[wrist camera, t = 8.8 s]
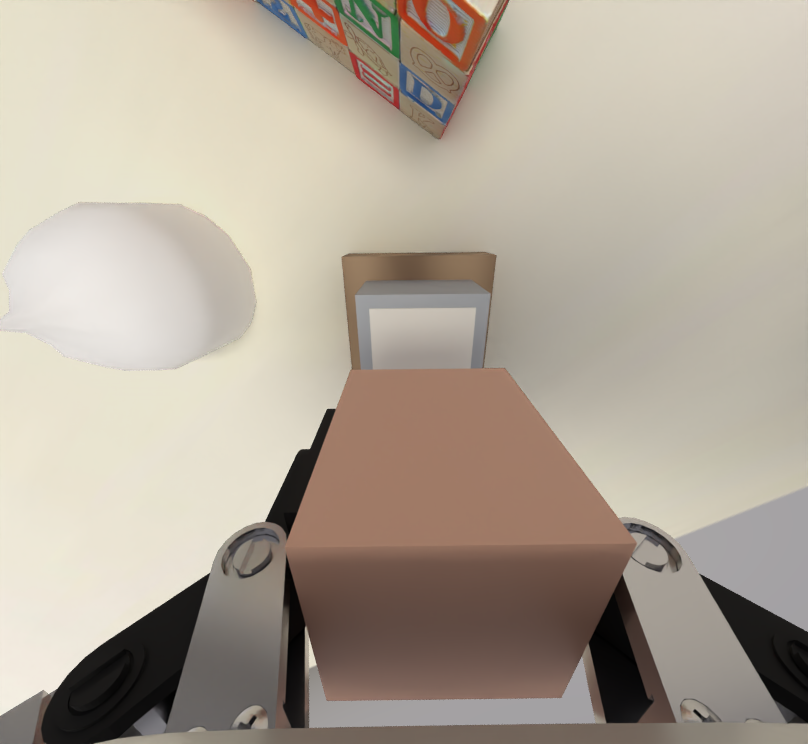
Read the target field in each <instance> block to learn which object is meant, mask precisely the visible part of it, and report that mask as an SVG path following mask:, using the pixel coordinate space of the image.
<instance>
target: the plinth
mask: <svg viewBox="0 0 808 744" xmlns="http://www.w3.org/2000/svg"><path fill="white" fill-rule="evenodd" d="M495 262H496V255H494V254H490V253H486V252H462V253H374V254H348V255H345V256H343V257H342V266H343V277H344V288H345V298H346V309H347V320H348V330H349V341H350V352H351V362H352V370H361V364H360V352H359V339H358V327H357V314H356V302H355V294H356V293H357V292H358V291H359V289H360V288H361V287H362V285H363V284H364V283H365V282H366V281H381V280H472V281H474V282H475V283H477V284H478V285H479V286H481V287H482V288H483V289H485V290H486V291H488V292H489V293H490V294H491V295H490V304H489V313H488V322H487V331H486V340H485V349H484V358H483V367H482V368H484V359H485V350H486V342H487V333H488V324H489V315H490V306H491V298H492V289H493V280H494V271H495Z"/></svg>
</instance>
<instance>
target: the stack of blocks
mask: <svg viewBox="0 0 808 744" xmlns="http://www.w3.org/2000/svg"><path fill="white" fill-rule="evenodd" d="M253 1H255V2H259V3H260V4H262V5H263V6H264V7H265V8H267V9H268V10H269V11H271V12H272V13H273V14H275V15H276V16H277V17H279V18H280V19H281V20H283V21H284V22H285V23H287V24H288V25H289V26H291V27H292V28H293V29H295V30H296V31H297V32H298V33H300V34H301V35H302V36H304V37H305V38H307V39H310V40H311V41H312V42H313V43H314V44H315V45H317V46H318V47H319V48H321V49H322V50H323V51H325V52H326V53H327V54H329V55H330V56H331V57H333V58H334V59H335V60H337V61H338V62H339V63H341V64H342V65H343V66H345V67H346V68H347V69H349V70H350V71H351V72H353V73H355V75H356V76H357V78H358V79H360V80H361V81H362V82H364V83H365V84H366V85H367V86H369V87H370V88H371V89H373V90H374V91H376V92H377V93H378V94H379V95H381V96H382V97H383V98H385V99H386V100H387V101H389V102H390V103H391V104H393V105H394V106H395V107H397V108H398V109H399V110H401V111H402V112H403V113H404V114H405V115H406V116H408V117H409V118H410V119H412V120H413V121H414V122H416V123H417V124H418V125H419V126H421V127H422V128H423V129H425V130H426V131H427V132H429V133H430V134H431V135H433V136H434V137H435V138H437V139H441V137H442V135H443V133H444V131H445V129H446V127H447V125H448V123H449V121H450V119H451V117H452V115H453V113H454V111H455V109H456V107H457V105H458V103H459V101H460V99H461V97H462V95H463V94H464V92H465V90H466V87H467V85H468V83H469V81H470V79H471V77H472V74H473V72H474V70H475V68H476V66H477V64H478V63H479V61H480V59H481V57H482V55H483V53H484V51H485V49H486V47H487V45H488V43H489V41H490V39H491V37H492V35H493V34H494V32H495V30H496V28H497V26H498V24H499V22H500V20H501V18H502V15H503V13H504V11H505V9H506V7H507V5H508V2H509V0H253Z"/></svg>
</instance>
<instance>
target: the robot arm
mask: <svg viewBox="0 0 808 744" xmlns="http://www.w3.org/2000/svg"><path fill="white" fill-rule="evenodd" d="M335 411H336V409H327V410H326V413H325V415H324V417H323V420H322V422H321V424H320V427H319V429H318V432H317V434H316V436H315V439H314V441H313V443H312V446H311V448H310V449H301V450H300V451H299V452H298V453H297V455H296V457H295V459H294V461H293V464H292V466H291V468H290V470H289V472H288V474H287V476H286V478H285V481H284V483H283V485H282V487H281V489H280V491H279V493H278V495H277V498H276V500H275V502H274V504H273V506H272V508H271V510H270V512H269V514H268V517H267V519H266V521H265V522H260V523H255V524H252V525H249V526H246V527H244V528H243V529H241V530H239V531H238V532H236V533H234V534H233V535H232V536H231V537H230V538H229V539H228V540H226V541H225V543H224V544H223V545H222V547H221V548H220V549H219V550H218V552H217V555H216V557H215V559H214V561H213V565H212V568H211V572H210V573H209V574H207V575H206V576H204V577H203V578H201V579H200V580H198V581H197V582H195V583H194V584H192V585H191V586H189V587H188V588H186V589H185V590H183V591H182V592H180V593H179V594H177V595H176V596H174V597H173V598H171V599H170V600H168V601H167V602H165V603H164V604H162V605H161V606H159V607H158V608H156V609H155V610H153V611H152V612H150V613H149V614H147V615H146V616H144V617H143V618H141V619H140V620H138V621H137V622H135V623H134V624H132V625H131V626H129V627H128V628H126V629H125V630H123V631H121V632H120V633H118V634H117V635H115V636H114V637H112V638H111V639H109V640H108V641H106V642H105V643H103V644H102V645H101V646H99V647H98V648H97V649H95V650H94V651H93V652H91V653H90V654H89V655H88V656H86V657H85V658H84V659H83V660H82V661H81V662H80V663H79V664H78V665H77V666H76V667H75V668H74V669H73V670H72V671H71V672H70V673H69V674H68V675H67V677H66V678H65V679H64V681H63V682H62V683H61V685H60V686H59V687H58V689H56V690H55V691H53V692H52V693H50V694H48V693H47V692H45V691H44V690H43V691H41V692H39V693H38V694H36V695H34V696H33V697H31V698H29V699H28V700H26V701H24V702H23V703H21V704H19V705H18V706H16V707H14V708H13V709H11V710H9V711H8V712H6V713H4V714H3V715H1V716H0V744H808V632H807V631H804V630H803V629H801V628H799V627H797V626H795V625H794V624H792V623H790V622H788V621H786V620H784V619H782V618H781V617H779V616H777V615H775V614H773V613H771V612H770V611H768V610H766V609H764V608H762V607H760V606H758V605H756V604H755V603H753V602H751V601H749V600H747V599H745V598H744V597H742V596H740V595H738V594H736V593H734V592H732V591H730V590H729V589H727V588H725V587H723V586H721V585H719V584H718V583H716V582H714V581H712V580H710V579H708V578H706V577H705V576H703V575H701V574H699V573H698V571H697V570H696V568H695V566H694V564H693V563H692V561H691V559H690V558H689V556H688V555H687V553H686V552H685V550H684V549H683V548H682V547H681V545H680V544H679V543H678V542H677V541H676V540H674V539H673V538H672V537H671V536H670V535H669V534H667V533H666V532H664V531H663V530H661V529H660V528H658V527H656V526H654V525H652V524H650V523H648V522H646V521H642V520H639V519H636V518H628V517H622V518H619V520H620V521H621V522H622V524H623V525H624V526H625V528H626V529H627V530H628V532H629V533H630V534H631V536H632V537H633V538H634V539H635V541H636V542H637V545H636V547H635V549H634V551H633V553H632V556H631V558H630V560H629V562H628V564H627V566H626V568H625V570H624V572H623V574H622V576H621V578H620V580H619V582H618V584H617V586H616V588H615V590H614V592H613V594H612V596H611V598H610V600H609V602H608V604H607V606H606V608H605V610H604V612H603V614H602V616H601V618H600V620H599V622H598V624H597V626H596V628H595V631H594V633H593V635H592V637H591V639H590V641H589V643H588V645H587V647H586V649H585V651H584V653H583V655H582V657H583V662H584V667H585V672H586V677H587V682H588V687H589V692H590V696H591V701H592V706H593V711H594V716H595V721H596V724H519V725H453V726H451V725H450V726H449V725H447V726H393V727H392V726H386V727H336V728H309V634H308V631H307V627H306V623H305V620H304V616H303V613H302V609H301V605H300V602H299V598H298V594H297V591H296V587H295V584H294V580H293V576H292V573H291V569H290V565H289V562H288V558H287V554H286V551H285V545H286V542H287V540H288V537H289V534H290V532H291V529H292V526H293V524H294V521H295V518H296V516H297V513H298V510H299V507H300V505H301V502H302V499H303V497H304V494H305V491H306V489H307V486H308V483H309V481H310V478H311V475H312V473H313V470H314V467H315V464H316V462H317V459H318V456H319V454H320V451H321V448H322V446H323V443H324V440H325V438H326V435H327V432H328V430H329V427H330V424H331V421H332V419H333V416H334V413H335Z"/></svg>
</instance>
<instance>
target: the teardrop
mask: <svg viewBox="0 0 808 744" xmlns="http://www.w3.org/2000/svg"><path fill="white" fill-rule="evenodd" d="M2 275H3V277H4V280H5V282H6V284H7V287H8V289H9V312H8V313H7V314H6V315H4V316H3V317H2V318H1V319H0V331H9V332H20V333H27V334H29V335H31V336H33V337H35V338H37V339H39V340H41V341H43V342H45V343H47V344H49V345H51V346H52V347H53V348H54V349H56V350H57V351H58V352H59V353H60V354H61V355H63V356H64V357H67V358H71V359H75V360H79V361H82V362H86V363H91V364H95V365H99V366H103V367H108V368H113V369H119V370H124V371H129V370H168V369H177V368H179V367H181V366H183V365H186V364H188V363H190V362H192V361H194V360H196V359H198V358H200V357H202V356H204V355H206V354H208V353H210V352H212V351H214V350H216V349H218V348H220V347H222V346H224V345H226V344H228V343H230V342H232V341H234V340H236V339H238V338H240V337H241V336H242V335H243V334H244V332H245V331H246V329H247V328H248V327H249V325H250V324H251V323H252V319H253V315H254V311H255V307H256V296H255V291H254V285H253V280H252V274H251V269H250V267H249V265H248V264H247V262H246V261H245V259H244V258H243V256H242V255H241V253H240V251H239V250H238V248H237V247H236V245H235V244H234V242H233V241H232V239H231V238H230V236H229V235H228V234H227V233H226V232H225V231H223V230H222V229H221V228H220V227H219V226H217V225H216V224H215V223H214V222H213V221H211V220H210V219H209V218H208V217H206V216H205V215H202V214H200V213H198V212H196V211H194V210H191V209H189V208H187V207H185V206H183V205H180V204H156V203H93V202H78V203H76V204H74V205H72V206H70V207H68V208H66V209H64V210H62V211H59V212H58V213H56V214H54V215H53V216H51V217H49V218H48V219H46V220H44V221H43V222H41V223H39V224H38V225H36V226H34V227H33V228H31V229H30V230H29V231H28V232H27V233H26V234H25V235H24V237H23V238H22V239H21V240H20V241H19V242H18V243H17V245H16V247H15V249H14V251H13V253H12V255H11V257H10V259H9V261H8V263H7V265H6V267H5V269H4V271H3V273H2Z"/></svg>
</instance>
